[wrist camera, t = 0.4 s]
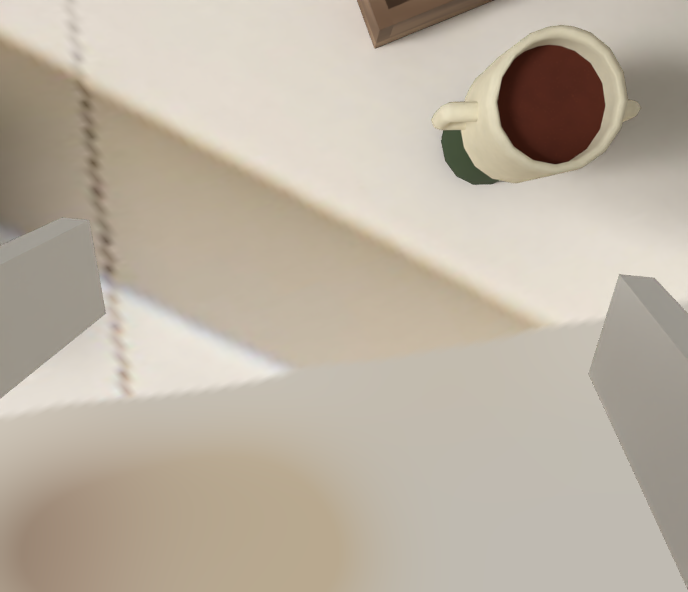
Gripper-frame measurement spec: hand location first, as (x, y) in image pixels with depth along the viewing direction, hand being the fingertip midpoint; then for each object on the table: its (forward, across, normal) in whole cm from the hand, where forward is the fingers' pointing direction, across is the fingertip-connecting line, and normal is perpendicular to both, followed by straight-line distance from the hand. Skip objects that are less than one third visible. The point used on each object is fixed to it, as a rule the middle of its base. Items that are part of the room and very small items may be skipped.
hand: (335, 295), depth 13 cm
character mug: (+29, +6, -1) cm, 30 cm away
